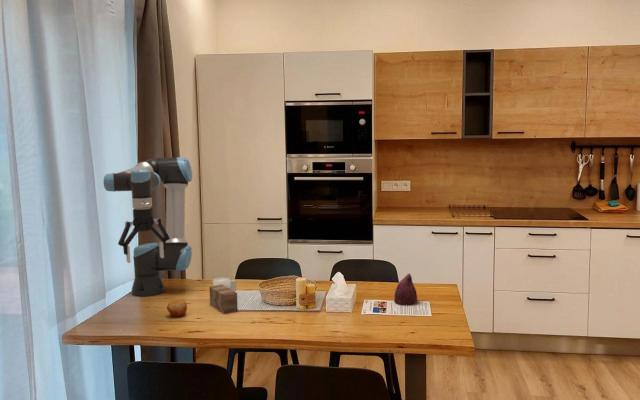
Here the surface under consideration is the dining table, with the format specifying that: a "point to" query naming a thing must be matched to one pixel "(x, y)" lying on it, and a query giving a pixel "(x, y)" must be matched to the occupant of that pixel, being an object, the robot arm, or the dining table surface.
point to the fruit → (177, 307)
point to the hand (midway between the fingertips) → (145, 259)
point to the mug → (225, 282)
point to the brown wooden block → (223, 299)
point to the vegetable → (405, 292)
